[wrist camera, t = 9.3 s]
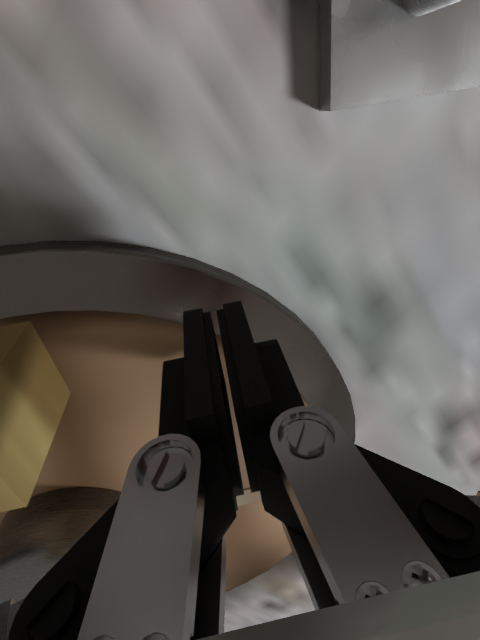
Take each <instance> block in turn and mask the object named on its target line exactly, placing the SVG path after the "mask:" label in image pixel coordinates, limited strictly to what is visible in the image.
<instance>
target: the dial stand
mask: <svg viewBox="0 0 480 640" xmlns="http://www.w3.org/2000/svg"><path fill="white" fill-rule="evenodd" d="M479 86H480V0H319V111H333V110H339V109H345V108H351V107H357V106H364V105H370V104H376V103H382V102H388V101H394V100H400V99H406V98H412V97H418V96H424V95H431V94H437V93H443V92H449V91H455V90H461V89H467V88H473V87H479Z"/></svg>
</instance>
